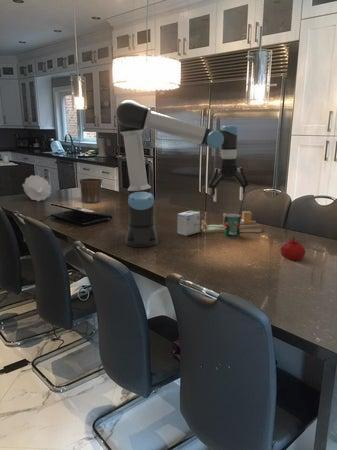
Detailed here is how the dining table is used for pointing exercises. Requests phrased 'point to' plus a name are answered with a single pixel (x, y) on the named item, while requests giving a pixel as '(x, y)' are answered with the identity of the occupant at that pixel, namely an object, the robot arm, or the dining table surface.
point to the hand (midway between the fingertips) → (228, 200)
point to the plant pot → (90, 190)
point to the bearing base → (220, 228)
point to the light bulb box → (188, 223)
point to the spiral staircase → (37, 188)
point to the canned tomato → (232, 225)
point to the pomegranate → (293, 250)
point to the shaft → (246, 218)
